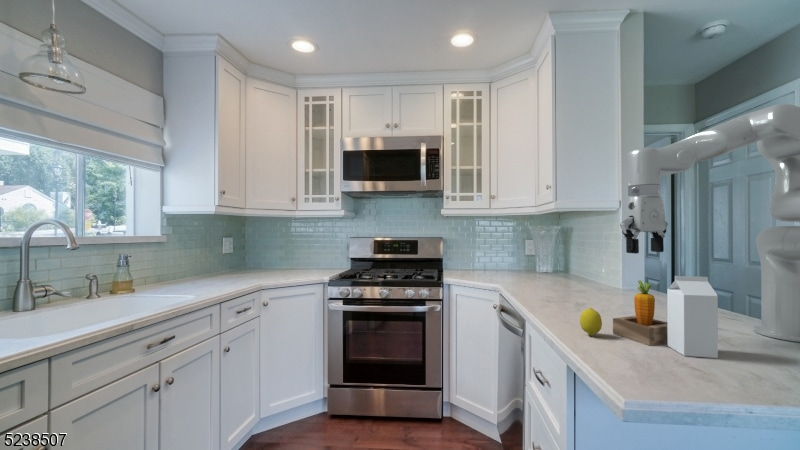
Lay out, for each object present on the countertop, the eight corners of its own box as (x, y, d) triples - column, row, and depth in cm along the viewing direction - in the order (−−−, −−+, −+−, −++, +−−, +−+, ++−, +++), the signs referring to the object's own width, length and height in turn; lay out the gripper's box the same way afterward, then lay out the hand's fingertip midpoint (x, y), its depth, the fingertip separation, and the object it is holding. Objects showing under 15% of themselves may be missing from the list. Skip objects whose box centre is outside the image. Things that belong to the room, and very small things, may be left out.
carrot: (658, 337, 94) (658, 282, 94) (637, 335, 95) (637, 282, 95) (651, 331, 98) (651, 279, 98) (631, 330, 100) (631, 279, 100)
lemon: (602, 334, 99) (602, 307, 99) (601, 340, 94) (601, 311, 94) (580, 331, 102) (580, 304, 102) (579, 336, 97) (579, 308, 97)
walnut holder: (639, 330, 103) (639, 315, 103) (677, 341, 93) (677, 325, 93) (612, 333, 100) (612, 318, 100) (649, 345, 90) (649, 328, 90)
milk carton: (718, 358, 81) (717, 279, 81) (684, 356, 82) (683, 278, 83) (698, 348, 88) (698, 274, 88) (667, 346, 89) (667, 274, 90)
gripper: (634, 190, 91) (635, 254, 90) (679, 191, 96) (680, 252, 96) (609, 193, 98) (610, 252, 98) (651, 194, 103) (653, 250, 103)
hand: (645, 252), depth 97 cm, fingers open, 9 cm apart
